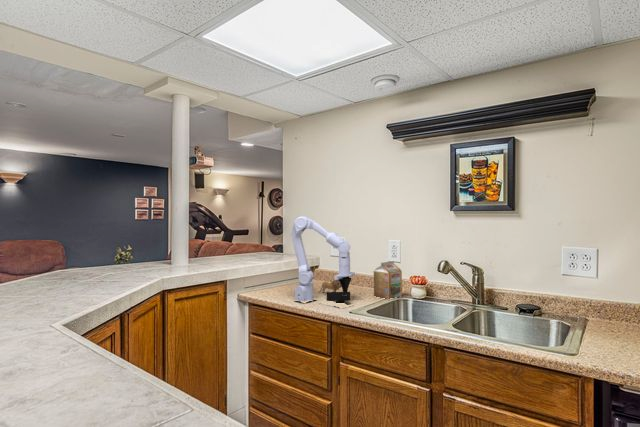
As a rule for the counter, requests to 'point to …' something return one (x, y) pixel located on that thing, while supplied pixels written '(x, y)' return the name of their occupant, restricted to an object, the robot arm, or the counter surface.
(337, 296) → the digital camera
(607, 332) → the counter surface
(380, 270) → the milk carton
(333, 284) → the lion figurine
